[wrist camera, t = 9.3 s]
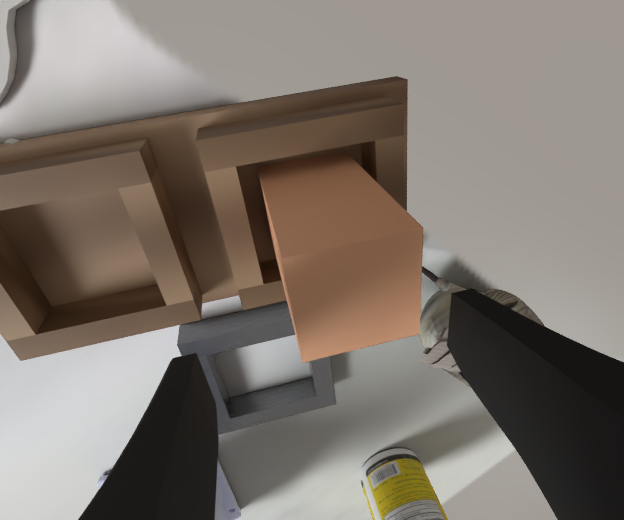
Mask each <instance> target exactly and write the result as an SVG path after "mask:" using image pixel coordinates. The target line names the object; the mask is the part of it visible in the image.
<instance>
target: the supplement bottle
mask: <svg viewBox="0 0 624 520" xmlns="http://www.w3.org/2000/svg"><path fill="white" fill-rule="evenodd" d="M360 481H361V484H362V488H363V491H364V494H365V497H366V500H367V503H368V506H369V509H370V512H371V515H372V518H373V520H448V519H447V517H446V515H445V513H444V510H443V509H442V506H441V504H440V502H439V500H438V498H437V496H436V494H435V492H434V489H433V487H432V485H431V483H430V481H429V479H428V477H427V475H426V473H425V471H424V469H423V467H422V464H421V462H420V461H419V459H418V457H417V455H416V454H415V453H414V452H413V451H411V450H408V449H404V448H396V449H390V450H386V451H383V452H381V453H378V454H377V455H375V456H373V457H372V458H370V459H369V460H368V461H367V462H366V463H365V465H364V466H363V468H362V469H361V472H360Z"/></svg>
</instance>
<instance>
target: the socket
mask: <svg viewBox="0 0 624 520" xmlns="http://www.w3.org/2000/svg"><path fill="white" fill-rule="evenodd" d="M291 335H295V330H294V326H293V323H292V319H291V315H290V311H289V307H288V303H287V301H285V302H281V303H276V304H272V305H268V306H263V307H259V308H254V309H250V310H246V311H241V312H237V313H233V314H228V315H224V316H219V317H215V318H211V319H206V320H202V321H197V322H193V323H189V324H184V325H180V327H179V335H178V343H177V346H178V348H179V350H180V353H181V355H182V356H185V355H189V354H193V353H197V355H198V358H199V361H200V363H201V366H202V368H203V371H204V373H205V376H206V379H207V381H208V384H209V386H210V389H211V392H212V394H213V397H214V399H215V402H216V410H217V423H218V434H222V433H226V432H230V431H234V430H238V429H242V428H245V427H249V426H253V425H257V424H261V423H265V422H268V421H272V420H276V419H280V418H284V417H288V416H292V415H295V414H299V413H303V412H307V411H311V410H315V409H318V408H322V407H326V406H330V405H334V404H336V397H335V390H334V383H333V376H332V369H331V362H330V356H328V357H324V358H320V359H316V360H312V361H309V366H310V371H311V377H312V378H308V379H304V380H300V381H296V382H292V383H288V384H284V385H280V386H276V387H272V388H268V389H264V390H260V391H256V392H252V393H248V394H244V395H240V396H237V397H233V398H229V396H228V393H227V390H226V388H225V385H224V382H223V380H222V377H221V374H220V371H219V369H218V366H217V363H216V360H215V358H214V355H213V354H215V353H219V352H223V351H227V350H232V349H236V348H240V347H244V346H249V345H253V344H257V343H261V342H265V341H270V340H274V339H278V338H282V337H286V336H291Z"/></svg>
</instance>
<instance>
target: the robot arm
mask: <svg viewBox="0 0 624 520" xmlns="http://www.w3.org/2000/svg"><path fill="white" fill-rule="evenodd" d="M447 347H448V349H449V351H450V352H451V354H452V356H453V358H454V360H455V362H456V364H457V366H458V367H459V369H460V371H461V373H462V374H463V376H464V378H465V379H466V381H467V382H468V384H469V385H470V386H471V388H472V389H473V391H474V392H475V393H476V395H477V396H478V398H479V399H480V400H481V402H482V403H483V405H484V406H485V407H486V409H487V410H488V411H489V413H490V414H491V416H492V417H493V418H494V420H495V421H496V422H497V424H498V425H499V427H500V428H501V429H502V431H503V432H504V433H505V435H506V436H507V438H508V439H509V440H510V442H511V443H512V445H513V446H514V447H515V449H516V450H517V452H518V453H519V455H520V456H521V458H522V459H523V461H524V462H525V464H526V466H527V467H528V469H529V471H530V472H531V474H532V476H533V477H534V479H535V481H536V482H537V484H538V486H539V488H540V489H541V491H542V493H543V494H544V496H545V498H546V500H547V501H548V503H549V505H550V507H551V508H552V510H553V512H554V514H555V516H556V517H557V519H558V520H624V362H621V361H619V360H616V359H614V358H611V357H609V356H607V355H604V354H602V353H599V352H597V351H595V350H593V349H590V348H588V347H586V346H584V345H582V344H580V343H578V342H575V341H573V340H571V339H569V338H567V337H565V336H563V335H560V334H559V333H556V332H554V331H552V330H550V329H548V328H547V327H545V326H543V325H541V324H539V323H537V322H535V321H533V320H531V319H529V318H527V317H525V316H523V315H521V314H519V313H518V312H516V311H514V310H512V309H510V308H508V307H506V306H505V305H503V304H501V303H499V302H497V301H495V300H493V299H491V298H490V297H488V296H486V295H484V294H482V293H480V292H478V291H476V290H474V289H472V288H471V289H467V290H462V291H458V292H454V293H451V304H450V316H449V327H448V338H447ZM97 486H98V487H99V490H98V492H97V493H96V495H95V496H94V498H93V499H92V501H91V502H90V504H89V505H88V506H87V508H86V509H85V511H84V512H83V514H82V515H81V516H80V518H79V519H78V520H235V519H238V518H239V517H240V516H241V510H240V508H239V506H238V503H237V501H236V499H235V497H234V494H233V492H232V490H231V488H230V485H229V483H228V481H227V479H226V476H225V474H224V472H223V470H222V468H221V465H220V463H219V461H218V423H217V410H216V402H215V399H214V397H213V394H212V392H211V389H210V386H209V384H208V381H207V379H206V376H205V373H204V371H203V368H202V366H201V363H200V361H199V358H198V355H197V353H193V354H189V355H185V356H180V357H176V358H173V359H172V361H171V362H170V364H169V366H168V368H167V370H166V372H165V374H164V376H163V378H162V380H161V382H160V384H159V386H158V388H157V390H156V392H155V394H154V396H153V398H152V400H151V402H150V404H149V406H148V408H147V410H146V411H145V413H144V415H143V417H142V419H141V421H140V422H139V424H138V426H137V428H136V430H135V432H134V433H133V435H132V437H131V439H130V440H129V442H128V444H127V445H126V447H125V449H124V450H123V452H122V454H121V455H120V457H119V459H118V460H117V462H116V464H115V465H114V467H113V469H112V470H111V472H110V473H109V475H105V476H102V477H100V478H99V480H98V483H97Z"/></svg>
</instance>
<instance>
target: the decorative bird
mask: <svg viewBox="0 0 624 520" xmlns="http://www.w3.org/2000/svg"><path fill="white" fill-rule="evenodd" d="M422 272H423V273H424V274H425V275H426V276H427V277H429V278H430V279H431V280H432V281H433V282H435V283H436V285H437V286H438V287H439V288H440V289H441V290H440V291H438V292H436V293H435V294H434V295H433V296H432V297H431V298H430V299H429V300H428V302H427V303H426V305H425V307H424V309H423V311H422V315H421V318H420V334H419V336H420V339H421V341H422V344H423V345H424V347H425V350H424V351H423V353H425V354H428V355H427V356H425V357H424V358H422V359H421V360H419V361H418V363H428V364H433V365H431V366H429V367H436V368H442V369H444V370H445V371H447V372H448V373H450V374H451V375H453V376H454V377H456V378H457V379H459V380H460V381H462V382H463V383H465V384H466V385H468V386H470V385H469V384H468V382H467V381H466V379H465V378H464V376H463V374H462V373H461V371H460V369H459V367H458V366H457V364H456V362H455V360H454V358H453V356H452V354H451V352H450V351H449V349H448V347H447V338H448V327H449V316H450V304H451V293H454V292H458V291H462V290H467V289H465V288H462V287H460V286H458V285H455V284H453V283H451V282H449V281H447V280H445V279H443V278H438V277H437V276H435V275H434V274H433V273H432V272H430V271H429V270H427V269H426V268H424V267H422ZM478 292H479V291H478ZM480 293H482V294H484V295H486V296H488V297H490V298H491V299H493V300H495V301H497V302H499V303H501V304H503V305H505V306H506V307H508V308H510V309H512V310H514V311H516V312H518V313H519V314H521V315H523V316H525V317H527V318H529V319H531V320H533V321H535V322H537V323H539V324H541V325H543V326H544V324H543V323H542V322H541V320H540V319H539V318H538V317H537V316H536V314H535V313H534V312H533V311H532V310H531V309H530V308H529V307H528V306H527V305H526V304H525V303H524V302H523V301H522V300H520V299H519V298H518V297H517V296H515V295H513V294H511V293H508V292H506V291H502V290H497V289H491V290H489V291H488V292H486V293H483V292H480ZM470 387H471V386H470Z"/></svg>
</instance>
